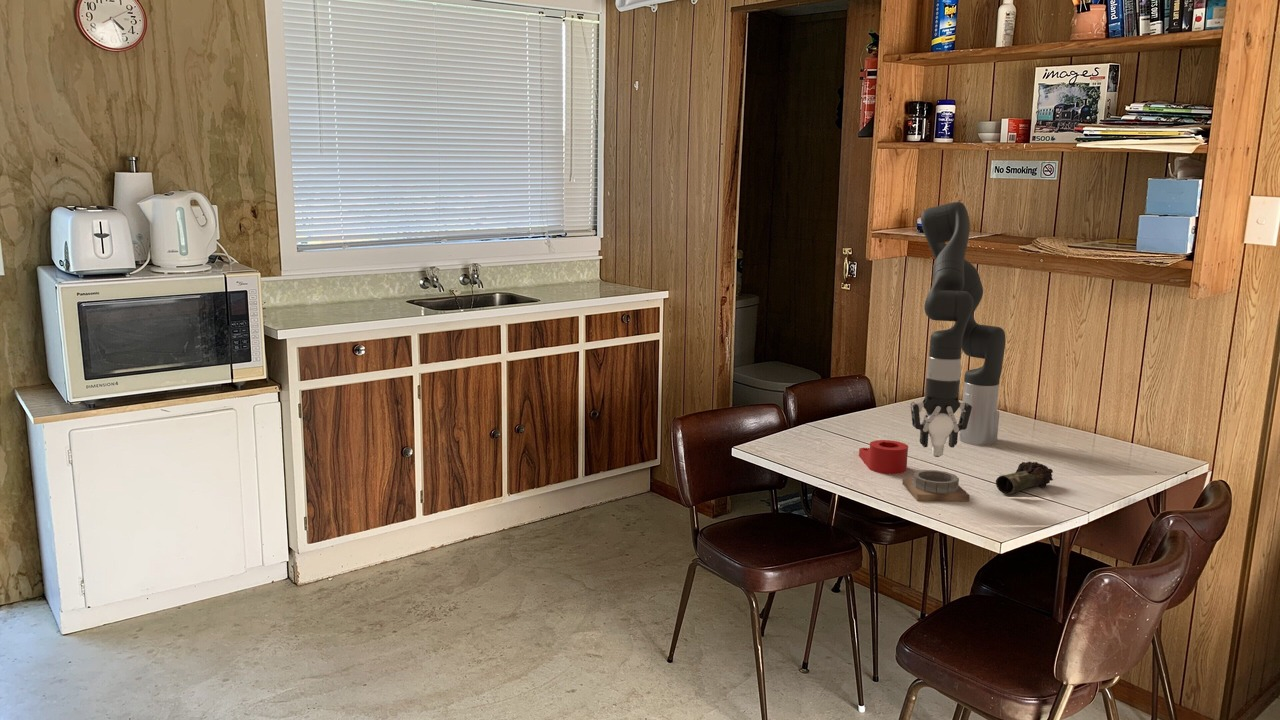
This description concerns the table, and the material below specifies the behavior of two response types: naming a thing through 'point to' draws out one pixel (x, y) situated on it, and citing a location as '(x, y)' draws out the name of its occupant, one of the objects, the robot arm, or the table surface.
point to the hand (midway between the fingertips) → (937, 446)
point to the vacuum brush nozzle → (1024, 478)
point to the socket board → (933, 495)
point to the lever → (885, 456)
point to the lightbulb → (940, 432)
